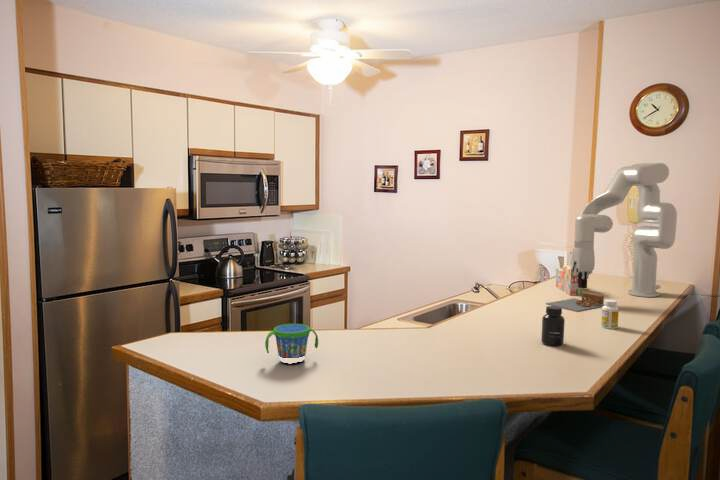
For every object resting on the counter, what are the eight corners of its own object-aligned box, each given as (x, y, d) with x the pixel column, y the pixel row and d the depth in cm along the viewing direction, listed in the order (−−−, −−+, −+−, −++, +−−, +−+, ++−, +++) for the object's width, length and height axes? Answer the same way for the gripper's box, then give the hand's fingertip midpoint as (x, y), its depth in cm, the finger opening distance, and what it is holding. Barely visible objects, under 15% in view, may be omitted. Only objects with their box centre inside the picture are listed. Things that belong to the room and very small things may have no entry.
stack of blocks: (555, 286, 267) (556, 262, 265) (568, 286, 266) (569, 262, 265) (570, 296, 245) (571, 269, 244) (584, 296, 245) (585, 269, 244)
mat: (573, 299, 238) (574, 298, 238) (605, 306, 224) (606, 305, 224) (545, 304, 229) (545, 303, 229) (577, 311, 215) (577, 310, 215)
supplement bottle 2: (617, 326, 194) (618, 299, 193) (617, 329, 189) (619, 302, 188) (601, 324, 196) (602, 298, 195) (601, 328, 191) (602, 301, 190)
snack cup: (315, 353, 166) (315, 321, 165) (321, 365, 156) (320, 330, 154) (264, 357, 162) (263, 325, 161) (266, 369, 152) (265, 334, 151)
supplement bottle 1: (553, 348, 169) (554, 310, 168) (536, 342, 176) (537, 306, 174) (568, 344, 173) (569, 308, 171) (551, 339, 179) (553, 304, 177)
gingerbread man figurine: (604, 295, 227) (594, 303, 219) (603, 304, 228) (594, 312, 219) (582, 291, 233) (572, 299, 224) (582, 299, 234) (572, 308, 225)
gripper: (588, 243, 233) (586, 284, 235) (564, 245, 225) (563, 288, 227) (603, 244, 226) (601, 287, 228) (579, 247, 219) (578, 291, 221)
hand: (582, 287), depth 228 cm, fingers closed
